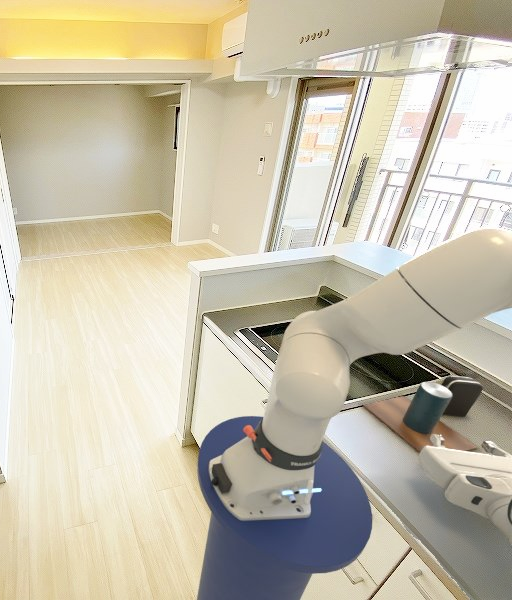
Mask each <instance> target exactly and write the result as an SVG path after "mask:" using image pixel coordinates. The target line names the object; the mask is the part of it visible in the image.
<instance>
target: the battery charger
mask: <svg viewBox="0 0 512 600" xmlns="http://www.w3.org/2000/svg"><path fill="white" fill-rule="evenodd" d="M440 385H442V386H444V387H446V388H447V389H449V390H450V391H451V393H452V394H453V397H452V399H451V401H450V402H449V404H448V406H447V407H446V409H445V411H444V413H443V414H442V415H444V416H445V415H446V416H452V417H453V416H454V417H462V418H466V416H467V415H468V413H469V412H470V410H471V409H472V407H473V406H474V405H475V403H476V402H477V400H478V399H479V397H480V396H481V394H482V392H483V390H484V387H483V385H482V384H481V382H478V380H476V379H475V378H473V377H468V376H459V375H448V376H446V377H445V378H444V379H443V381H442V382H441V384H440Z"/></svg>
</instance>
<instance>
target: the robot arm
mask: <svg viewBox="0 0 512 600" xmlns="http://www.w3.org/2000/svg"><path fill="white" fill-rule="evenodd" d="M509 309H512V230H507V229H505V228H500V227H499V228H498V227H479V228H475V229H472V230H469V231H467V232H464V233H462V234H460V235H457V236H455V237H452V238H450V239H447V240H446V241H444V242H441V243H439V244H437V245H436V246H433V247H431V248H429V249H428V250H426V251H424V252H422V253H420V254H418V255H417V256H415V257H413V258H411V259H409V260H408V261H406V262H405V263H403V264H401V265H399V266H398V267H396V268H395V269H394V270H392V271H390V272H388V273H387V274H385V275H383V276H382V277H380V278H379V279H376V281H373V282H372V283H371V284H369V285H368V286H366V287H365V288H363V289H361V290H360V291H358V292H356V293H354V294H353V295H350V296H348V297H347V298H344V299H343V300H341V301H338V302H336V303H333V304H331V305H329V306H326V307H323V308H321V309H319V310H308V311H304V312H302V313H300V314H299V315H297V316H296V317H294V319H293V320H292V321H291V322H290V323H289V325H288V326H287V327H286V329H285V331H284V333H283V337H282V340H281V344H280V348H279V350H278V354H277V357H276V362H275V365H274V369H273V373H272V376H271V377H272V378H271V383H270V386H269V392H268V397H267V400H266V405H265V409H264V413H263V416H262V417H263V418H262V420H261V421H260V422H259V424H258V425H257V427H256V428H255V430H253V428H252V426H250V425H247V426H245V427H244V429H243V431H244V432H245V433H246V434H247V437H245V438H244V439H242V440H241V441H239V442H238V443H236V444H234V445H233V446H231V447H230V448H228V449H227V450H226V451H225V452H224V453H223V455H220V456H218V457H216V458H214V459H212V460H211V461H210V462H209V468H208V469H209V476H210V479H211V482H212V485H213V487H214V489H215V491H216V493H217V495H218V496H219V498H220V500H221V501H222V503H223V504H224V506H225V507H226V508H227V509H228V510H229V512H230V513H231V514H232V515H234V516H235V517H236V518H237V519H239V520H241V521H251V520H273V519H295V518H308V517H309V516H310V513H311V506H310V500H311V498H312V495H313V492H321V488H317V489H313V482H314V468H315V464H316V463H317V461H318V459H319V458H320V455H321V450H322V441H323V440H324V437H325V435H326V431H327V429H328V426H329V424H330V422H331V419H332V418H334V417H335V416H337V415H338V414H339V413H340V412H341V411H342V409H343V407H344V405H345V402H346V401H347V397H348V394H349V391H350V387H351V373H350V372H351V371H350V366H351V365H352V363H354V362H355V361H357V360H358V359H360V358H363V357H366V356H367V357H368V356H371V355H375V354H382V353H384V354H389V355H391V356H401V355H402V356H403V355H406V354H409V353H411V352H414V351H416V350H418V349H420V348H423V347H425V346H427V345H429V344H432V343H433V342H436V341H438V340H440V339H442V338H444V337H446V336H449V335H451V334H453V333H456V332H457V331H459V330H461V329H464V328H466V327H468V326H470V325H472V324H474V323H476V322H478V321H480V320H482V319H484V318H486V317H488V316H490V315H492V314H494V313H498V312H501V311H504V310H509ZM430 440H431V441H432V443H433V444H434V445H433V446H425V447H424V448H423V449H422V450H421V452H420V453H419V454H418V461H419V462H420V464H421V465H422V468H423V469H424V470H425V471H426V474H428V476H429V477H430V479H431V480H432V481H433V482H434V483H435V484H436V485H437V486H438V487H440V488H441V489H442V490H445V492H444V496H445V499H446V500H447V501H448V502H449V503H451V504H453V505H455V506H457V507H461V508H463V509H466V510H468V511H470V512H473V513H475V514H478V515H479V516H482V517H483V518H486V519H487V520H491V522H492V523H493V525H494V526H495V527H496V528H497V529H498V530H499V531H501V532H502V533H503V535H505V537H506V538H507V540H508V543H509V545H510V547H511V548H512V454H510V453H509V452H507V451H506V450H503V449H502V448H500V447H499V446H497V444H496V443H495V442H494V441H486V440H483V442H482V443H481V445H480V446H481V448H482V449H483V450H484V452H486V453H480V452H473V451H460V450H453V449H446V447H445V446H442V445H443V443H444V442H445V440H444V438H442V436H441V435H437V434H432V435H431V436H430ZM487 453H488V454H487ZM230 505H232V506H233V507H231V506H230ZM297 510H299V511H300V512H298V511H297Z"/></svg>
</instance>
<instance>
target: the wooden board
mask: <svg viewBox="0 0 512 600" xmlns="http://www.w3.org/2000/svg"><path fill="white" fill-rule="evenodd" d="M411 401H412V399H409V398H408V397H407V396H405V395H402V396H397V397H393V398H388V399H384V400H379V401H375V402H370V403H365V404H363V408H365V410H366V411H368V412H370V414H372V415H373V416H374V417H375V418H376V419H378V420H379V421H380V422H381V423H382V424H384V425H385V426H386V427H387V428H389V429H390V430H391V431H392V432H394V433H395V434H396V435H397V436H398V437H400V438H401V439H402V440H403V441H404V442H405V443H407V444H408V445H410V446H411V447H412V449H415V450H416V451H417V452H418V453H419V454H420V452H421V450H422V449H423V448H424V447H425V446H433V445H434V444H433V443H432V441H431V440H430V436H431V435H432V434H437V435H441V436H442V438H444V440H445V442H444V443H443V445H442V446H445V447H446V449H453V450H460V451H467V452H471V451H473V450H476V449H478V446H476V445H475V444H473V443H472V442H471V441H469V440H468V439H466V438H465V437H464V436H462V435H461V434H459V433H458V432H456V431H455V430H453V429H452V428H451V427H449V426H448V425H446V424H445V423H444V422H443V421H441V420H439V421H438V423H437V425H436V426H435V428H434V430H433V431H432V433H430V434H422V433H419V432H416V431H414V430H412V429H410V428H409V427H407V426H406V425H405V424H404V422H403V417H404V415H405V413H406V411H407V409H408V407H409V405H410V403H411Z"/></svg>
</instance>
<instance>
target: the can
mask: <svg viewBox="0 0 512 600" xmlns="http://www.w3.org/2000/svg"><path fill="white" fill-rule="evenodd" d="M452 397H453V394H452V393H451V391H450V390H449V389H447V388H446V387H444V386H442V385H441V384H439V383H437V382H433V381H423V382H421V383H420V384H419V386H418V388H417V390H416V391H415V393H414V395H413V396H412V399H411V403H410V405H409V407H408V409H407V411H406V413H405V415H404V417H403V422H404V424H405V425H406V426H407V427H409V428H410V429H412V430H414V431H416V432H419V433H422V434H430V433H432V431H433V430H434V428H435V426H436V425H437V423H438V421H440V419H441V418H442V416H443V415H444V414H443V413H444V411H445V409H446V407H447V406H448V404H449V402H450V401H451V399H452Z"/></svg>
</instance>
